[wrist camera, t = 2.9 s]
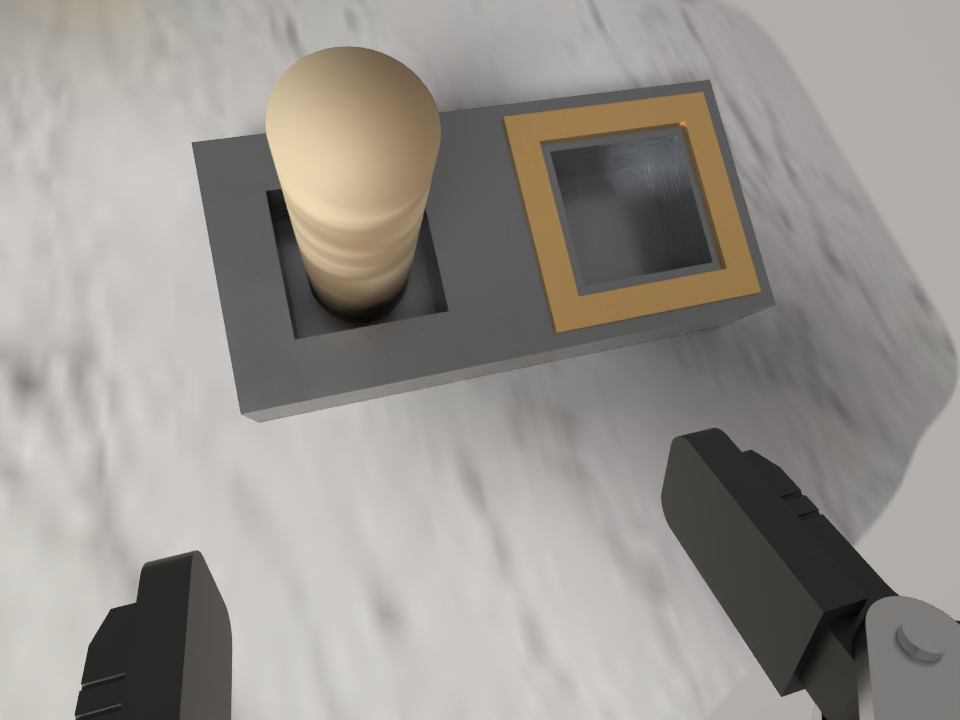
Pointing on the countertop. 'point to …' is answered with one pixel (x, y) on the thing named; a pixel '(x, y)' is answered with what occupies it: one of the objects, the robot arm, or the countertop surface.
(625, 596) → the countertop surface
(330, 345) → the base plate
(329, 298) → the peg
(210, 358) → the countertop surface
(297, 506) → the countertop surface
